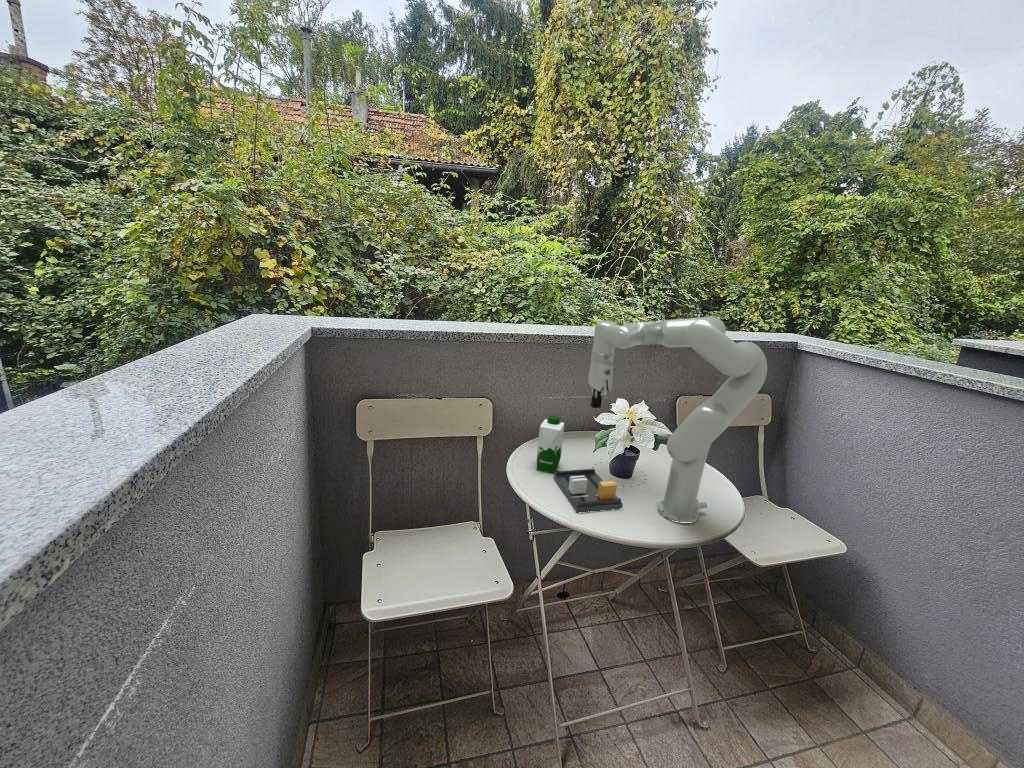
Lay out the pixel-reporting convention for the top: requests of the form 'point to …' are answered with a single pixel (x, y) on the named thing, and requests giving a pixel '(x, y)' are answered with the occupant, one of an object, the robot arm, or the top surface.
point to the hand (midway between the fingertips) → (595, 407)
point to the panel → (590, 498)
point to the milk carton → (550, 444)
